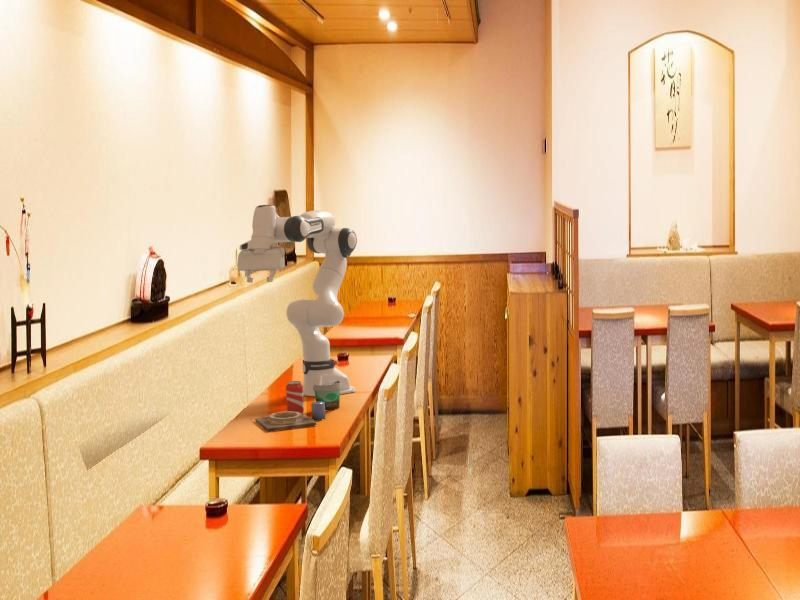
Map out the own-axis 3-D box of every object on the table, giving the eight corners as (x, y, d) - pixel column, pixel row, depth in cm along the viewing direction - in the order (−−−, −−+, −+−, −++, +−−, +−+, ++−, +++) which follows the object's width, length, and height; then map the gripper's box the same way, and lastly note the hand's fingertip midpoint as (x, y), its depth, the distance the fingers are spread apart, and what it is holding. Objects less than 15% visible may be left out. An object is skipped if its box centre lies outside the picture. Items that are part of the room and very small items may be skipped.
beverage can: (307, 412, 382) (305, 381, 381) (294, 416, 378) (293, 384, 376) (296, 410, 386) (295, 380, 385) (284, 413, 382) (282, 382, 380)
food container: (323, 413, 381) (321, 387, 380) (313, 410, 386) (312, 384, 385) (349, 407, 389) (348, 382, 388) (339, 405, 394) (338, 380, 392)
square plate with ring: (302, 415, 378) (301, 407, 377) (316, 425, 361) (316, 417, 361) (255, 421, 371) (254, 412, 371) (267, 431, 354) (267, 423, 354)
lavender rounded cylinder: (322, 416, 375) (322, 400, 374) (327, 419, 371) (326, 403, 370) (310, 418, 373) (309, 402, 373) (314, 421, 369) (313, 405, 368)
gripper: (289, 246, 378) (286, 282, 376) (246, 248, 388) (243, 284, 386) (279, 243, 372) (276, 280, 371) (236, 245, 383) (233, 281, 381)
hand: (259, 282), depth 379 cm, fingers open, 8 cm apart
